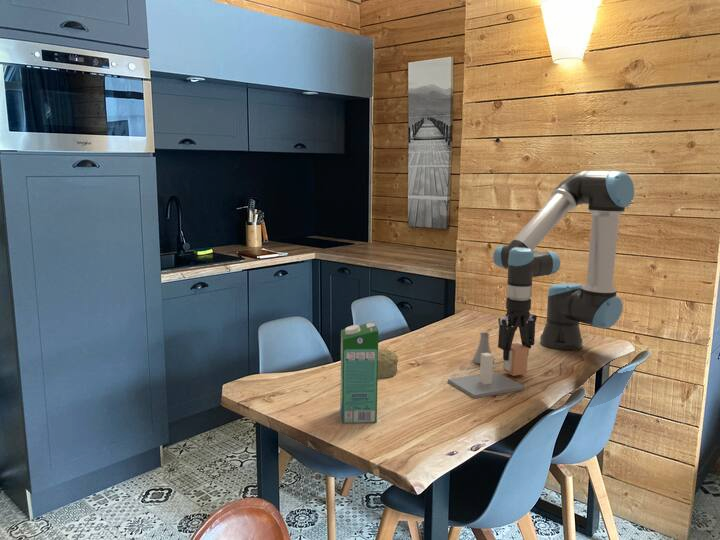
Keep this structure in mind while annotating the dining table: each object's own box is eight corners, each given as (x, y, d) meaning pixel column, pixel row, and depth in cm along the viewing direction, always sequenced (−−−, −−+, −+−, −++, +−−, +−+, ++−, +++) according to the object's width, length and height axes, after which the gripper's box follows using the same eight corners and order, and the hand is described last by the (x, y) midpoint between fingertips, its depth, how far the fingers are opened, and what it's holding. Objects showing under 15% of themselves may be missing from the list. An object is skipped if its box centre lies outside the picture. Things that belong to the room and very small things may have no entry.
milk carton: (340, 409, 167) (341, 321, 162) (373, 408, 167) (374, 320, 163) (342, 423, 158) (343, 330, 153) (376, 422, 158) (378, 330, 154)
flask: (494, 365, 204) (495, 337, 202) (472, 364, 205) (473, 335, 203) (493, 359, 211) (495, 331, 209) (472, 357, 212) (474, 329, 210)
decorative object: (399, 384, 195) (403, 354, 199) (390, 376, 187) (394, 345, 191) (372, 382, 199) (376, 353, 203) (362, 374, 190) (366, 344, 194)
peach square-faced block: (516, 368, 198) (517, 342, 197) (526, 373, 194) (528, 347, 192) (503, 370, 196) (504, 344, 195) (513, 375, 192) (514, 349, 190)
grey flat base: (495, 374, 195) (497, 344, 194) (523, 389, 183) (526, 357, 181) (447, 382, 188) (449, 351, 186) (474, 398, 176) (476, 365, 174)
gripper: (533, 292, 197) (529, 360, 202) (487, 297, 190) (484, 368, 194) (549, 297, 191) (545, 367, 195) (502, 303, 183) (499, 376, 188)
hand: (515, 368), depth 195 cm, fingers closed on peach square-faced block, 5 cm apart
